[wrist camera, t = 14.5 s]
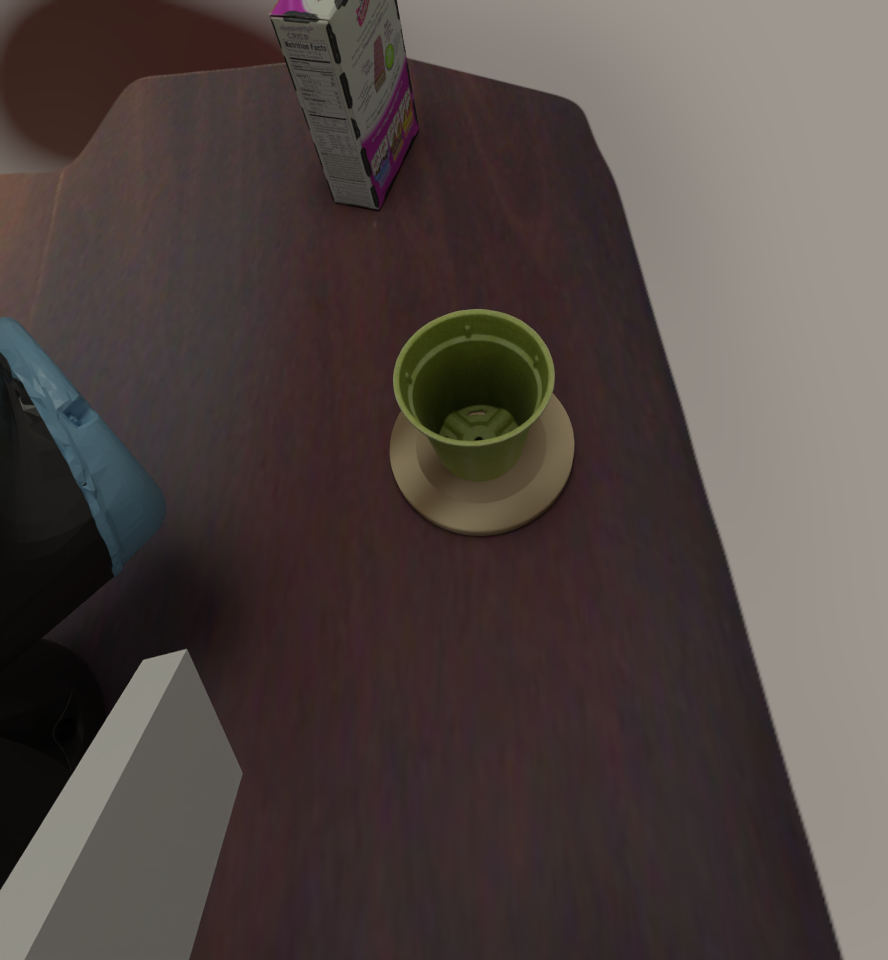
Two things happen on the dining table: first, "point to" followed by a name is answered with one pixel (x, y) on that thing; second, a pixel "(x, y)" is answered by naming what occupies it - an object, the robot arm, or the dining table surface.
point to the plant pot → (474, 388)
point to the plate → (486, 501)
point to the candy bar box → (351, 90)
